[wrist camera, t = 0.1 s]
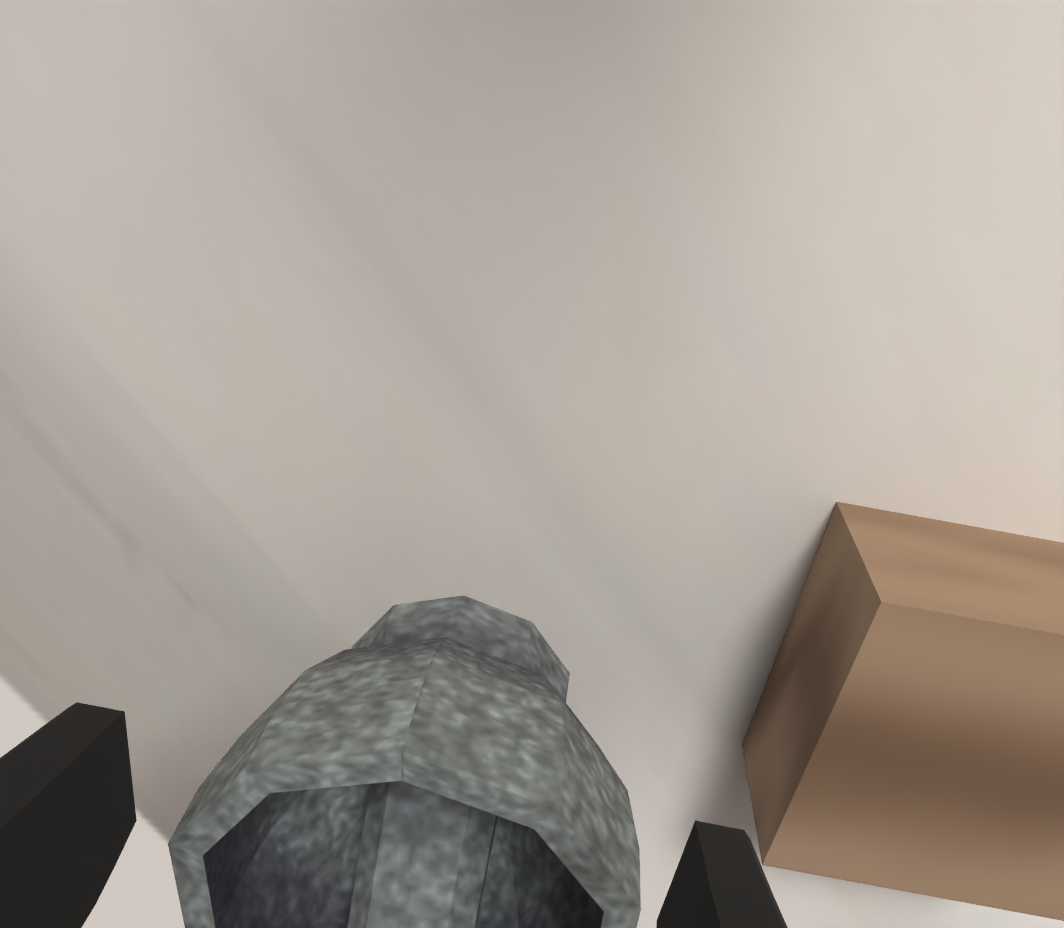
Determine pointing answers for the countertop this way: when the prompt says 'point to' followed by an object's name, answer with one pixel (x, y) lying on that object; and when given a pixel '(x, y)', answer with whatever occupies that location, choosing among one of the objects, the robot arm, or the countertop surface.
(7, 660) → the countertop surface
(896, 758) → the walnut plinth
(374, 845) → the mortar and pestle
